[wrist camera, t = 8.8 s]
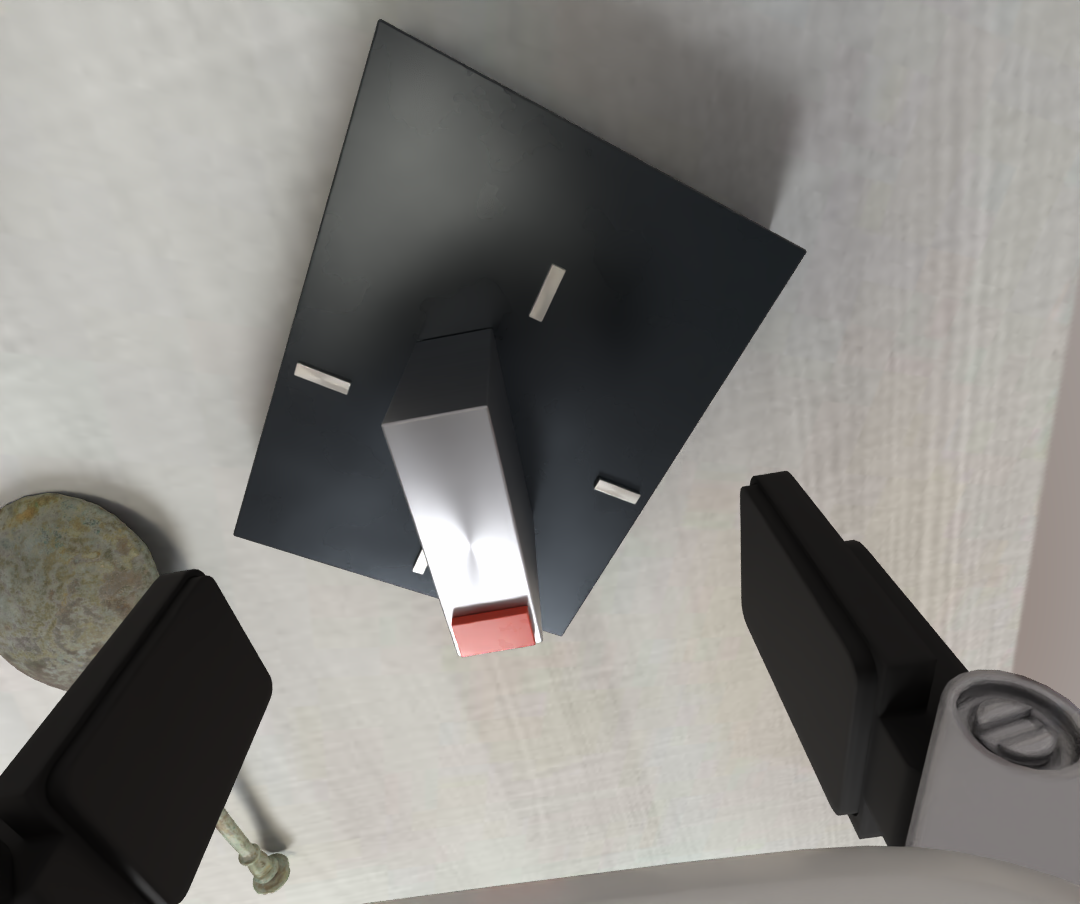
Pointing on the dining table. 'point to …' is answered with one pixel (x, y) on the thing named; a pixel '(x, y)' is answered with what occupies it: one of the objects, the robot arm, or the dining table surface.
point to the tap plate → (501, 320)
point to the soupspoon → (83, 609)
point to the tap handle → (467, 491)
